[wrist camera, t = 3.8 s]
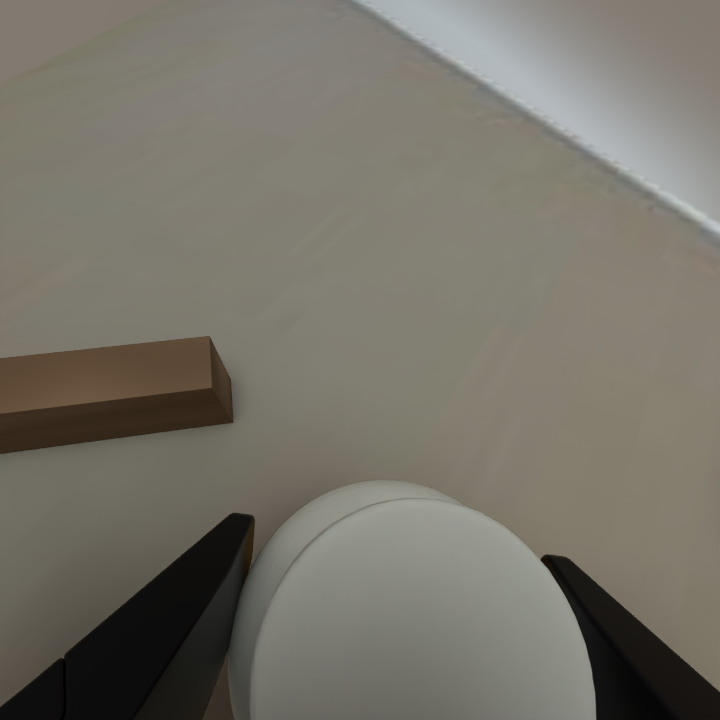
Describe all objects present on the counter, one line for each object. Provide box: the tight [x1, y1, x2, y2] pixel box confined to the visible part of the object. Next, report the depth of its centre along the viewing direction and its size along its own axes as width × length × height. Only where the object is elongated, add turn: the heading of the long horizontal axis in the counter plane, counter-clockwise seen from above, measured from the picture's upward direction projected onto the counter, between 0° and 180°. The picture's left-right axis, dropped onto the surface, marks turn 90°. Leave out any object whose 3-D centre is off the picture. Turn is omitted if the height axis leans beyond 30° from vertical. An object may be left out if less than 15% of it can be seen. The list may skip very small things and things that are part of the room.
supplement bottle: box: [228, 480, 596, 720], centre depth 9 cm, size 5×5×10 cm
